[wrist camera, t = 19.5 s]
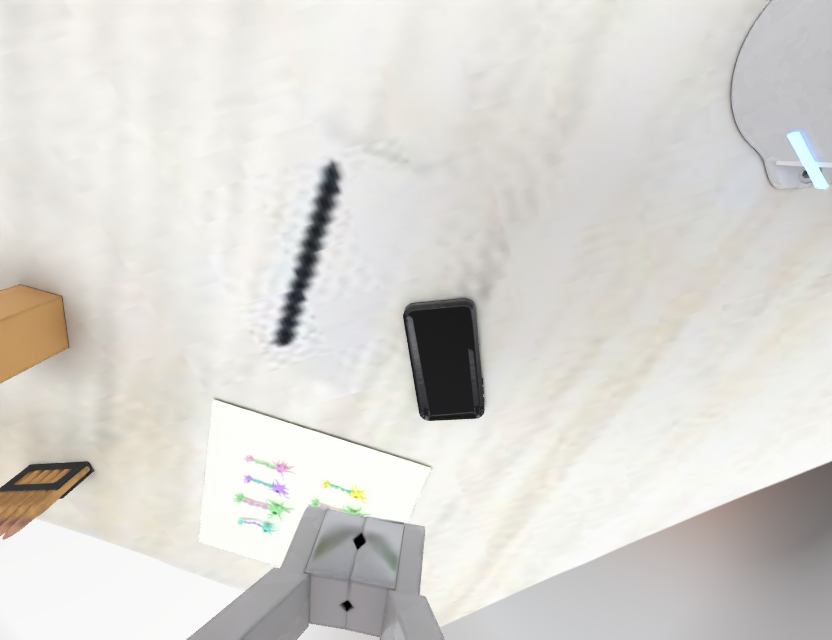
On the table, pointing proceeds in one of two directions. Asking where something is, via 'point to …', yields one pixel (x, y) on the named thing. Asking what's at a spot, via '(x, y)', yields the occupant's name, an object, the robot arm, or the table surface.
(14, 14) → the table surface
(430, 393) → the phone
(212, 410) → the printed paper
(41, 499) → the ammunition clip
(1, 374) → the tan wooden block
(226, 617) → the robot arm
